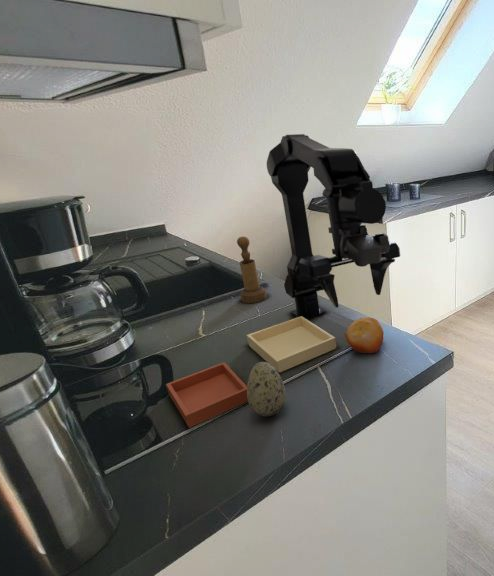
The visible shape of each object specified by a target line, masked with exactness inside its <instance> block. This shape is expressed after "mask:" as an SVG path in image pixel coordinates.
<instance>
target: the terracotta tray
mask: <svg viewBox="0 0 494 576" xmlns="http://www.w3.org/2000/svg"><path fill="white" fill-rule="evenodd" d="M165 386H166V389H167V392H168V395H169V397H170V399H171V400H172V402H173V404H174V406H175V407H176V408H177V411H178V412H179V414H180V416H181V417H182V419H183V420H184V422H185V424H186V425H187V427H188V428H189V429H190V428H193V427H195V426H197V425H199V424H201V423H203V422H206V421H207V420H210V419H212V418H214V417H218V416H219V415H221V414H222V413H226V412H227V411H229V410H232V409H234V408H237V407H238V406H241V405H243V404H245V403H247V402H248V399H247V384H246V383H244V381H243V380H242V379H241V378H240V377H239V376H238V375H237V374H236V373H235V372H234V371H233V369H232V368H231V367H230V366H229V365H228V364H227V363H226V362H225V361H224V362H221V363H218V364H215V365H213V366H210V367H208V368H205V369H202V370H199V371H197V372H195V373H192V374H189V375H185V376H184V377H181V378H179V379H175V380H173V381H170V382H168V383H166V384H165Z"/></svg>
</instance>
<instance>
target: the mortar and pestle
mask: <svg viewBox="0 0 494 576" xmlns="http://www.w3.org/2000/svg"><path fill="white" fill-rule="evenodd" d="M236 243H237V246H238V248H240V249H241V253H240V256H241V258H242V260H240V261H239V267H240V272H241V277H242V281H243V287H244V288H243V289H242V290H241V292H240V299H241V302H242V303H244V304H255V303H260V302H262V301H264V300H266V299H267V290H266V287H263V286H261V285H260V281H259V276H258V271H257V266H256V261H255V259H251V252H250V251H249V250H248V249H249V246H250V240H249V238H248V237H247V236H239V237H238V238H237V240H236Z"/></svg>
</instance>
